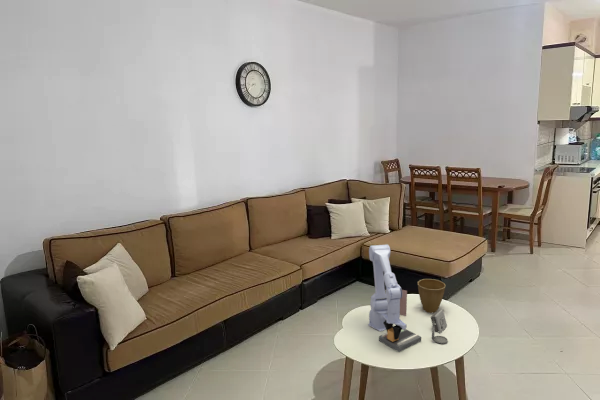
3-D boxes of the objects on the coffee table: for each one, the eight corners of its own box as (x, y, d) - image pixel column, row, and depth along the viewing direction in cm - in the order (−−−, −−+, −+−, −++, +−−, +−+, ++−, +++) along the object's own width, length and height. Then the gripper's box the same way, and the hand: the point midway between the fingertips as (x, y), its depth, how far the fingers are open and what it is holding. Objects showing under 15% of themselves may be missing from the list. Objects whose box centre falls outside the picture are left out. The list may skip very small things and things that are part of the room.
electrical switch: (440, 334, 218) (439, 316, 217) (430, 331, 221) (429, 314, 220) (447, 326, 225) (446, 309, 224) (437, 324, 229) (436, 308, 227)
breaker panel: (378, 340, 213) (378, 334, 212) (400, 330, 222) (400, 324, 221) (399, 352, 203) (399, 345, 202) (421, 341, 212) (421, 334, 211)
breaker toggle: (387, 338, 209) (387, 329, 208) (393, 336, 211) (393, 327, 210) (392, 341, 206) (393, 332, 205) (398, 339, 209) (398, 330, 208)
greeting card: (385, 312, 243) (385, 287, 240) (395, 309, 246) (396, 284, 243) (397, 320, 233) (398, 294, 230) (408, 317, 236) (409, 292, 233)
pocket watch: (450, 343, 209) (451, 324, 207) (435, 346, 207) (436, 326, 205) (440, 335, 217) (441, 316, 215) (425, 337, 215) (426, 319, 213)
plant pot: (411, 310, 244) (412, 284, 241) (425, 302, 254) (426, 276, 251) (435, 319, 234) (436, 291, 231) (449, 310, 244) (450, 283, 240)
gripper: (376, 307, 210) (376, 333, 212) (399, 318, 198) (398, 345, 201) (386, 304, 214) (386, 329, 216) (409, 314, 202) (409, 341, 205)
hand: (393, 336), depth 209 cm, fingers closed on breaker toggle, 4 cm apart
